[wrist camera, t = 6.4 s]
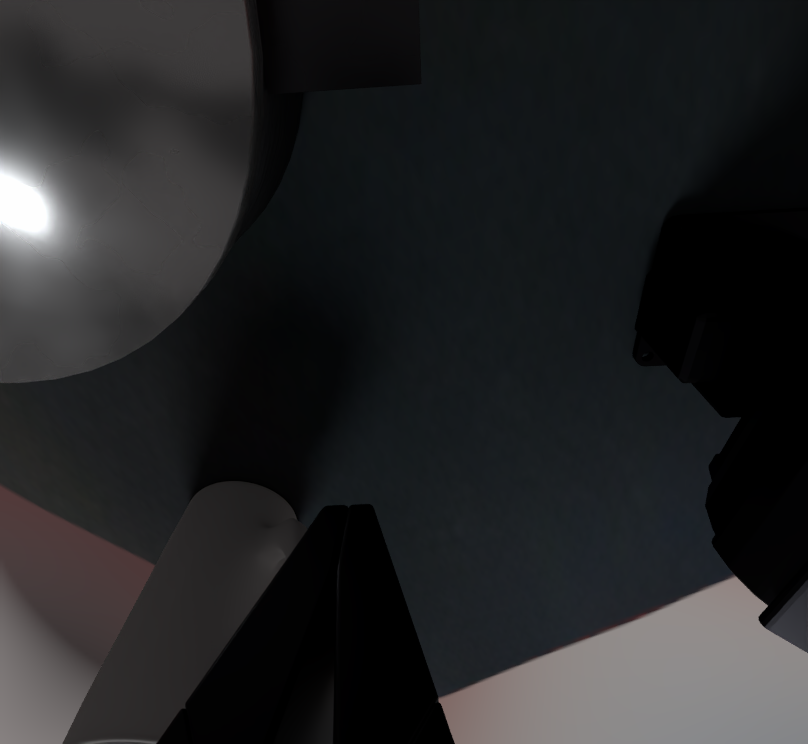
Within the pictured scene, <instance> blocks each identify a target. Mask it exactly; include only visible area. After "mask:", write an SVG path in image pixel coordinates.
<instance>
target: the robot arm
mask: <svg viewBox="0 0 808 744" xmlns="http://www.w3.org/2000/svg"><path fill="white" fill-rule="evenodd" d="M681 224H682V228H681V230H680V232H679V233H677V234H675V235H673V231H674V229H675V228H676V227H677V226H678V225H681ZM635 330H636V331H637V336H636V340H635V345H634V349H633V358H634V359H635V361H636V362H637V363H638V364H639V365H641V366H662V365H667V367H668V368H669V369H670V370H671V371H672V372H673V374H674V375H675V376H676V377H677V378H678V379H679V380H680V381H681V382H682V383H692V385H693V386H694V387H695V388H696V389H697V390H698V391H699V392H700V393H701V395H702V396H703V397H704V398H705V399H706V400H707V401H708V402H709V403H710V405H711V406H712V407H713V408H714V409H715V410H716V411H717V412H718V413H719V415H720V416H721V417H725V418H730V417H741V419H740V421H739V422H738V424H737V426H736V427H735V429H734V431H733V432H732V434H731V436H730V437H729V439H728V441H727V442H726V444H725V446H724V447H723V449H722V451H721V452H720V454H716V455H715V456H714V458H713V459H712V461H711V463H710V464H709V471H710V475H711V479H712V482H711V484H710V485H709V487H708V493H707V498H706V504H705V507H706V510H707V513H708V516H709V519H710V522H711V525H712V528H713V531H714V533H715V536H714V537H713V539H712V544H713V547H714V548H715V550H716V551H717V552H718V554H719V555H720V557H721V558H722V559H723V561H724V562H725V563H726V565H727V566H728V568H729V569H730V570H731V571H732V572H733V574H734V575H735V576H736V577H737V578H738V579H739V580H740V581H741V582H742V583H743V584H744V585H745V586H746V587H747V588H748V589H749V590H750V591H751V592H752V593H753V594H754V595H755V596H757V597H758V598H759V599H760V600H762V601H763V602H764V603H765V604H767V605H768V607H767V608H766V609H765V610H764V611H763V612H762V614H761V615H760V616H759V621H760V623H761V624H762V625H763V626H764V627H765V628H766V629H768V630H769V631H771V632H773V633H774V634H776V635H778V636H780V637H782V638H783V639H785V640H786V641H788V642H790V643H792V644H793V645H795V646H797V647H799V648H800V649H802V650H804V651H805V652H807V653H808V208H793V209H775V210H758V211H740V212H723V213H705V214H688V215H676V216H673V217H671V218H669V219H668V220H667V221H666V222H665V223H664V225H663V227H662V229H661V234H660V238H659V242H658V246H657V251H656V255H655V259H654V263H653V268H652V270H651V271H650V272H649V273H648V274H647V276H646V280H645V284H644V289H643V293H642V297H641V302H640V306H639V311H638V315H637V319H636V324H635ZM646 352H649V354H648V355H647V356H645V357H642V356H643V354H644V353H646ZM185 708H186V709H184V708H182V709H181V710H180V711H179V712H178V713H177V715H176V716H175V718H174V719H173V721H172V722H171V723H170V725H169V726H168V728H167V729H166V731H165V732H164V734H163V735H162V736H161V738H160V739H159V741H158V742H157V743H156V744H455V743H454V740H453V738H452V735H451V732H450V729H449V726H448V723H447V720H446V717H445V714H444V711H443V708H442V706H441V704H440V703H439V702H438V695H437V692H436V689H435V686H434V683H433V680H432V677H431V674H430V671H429V668H428V665H427V663H426V660H425V657H424V654H423V651H422V648H421V645H420V642H419V639H418V636H417V633H416V630H415V627H414V624H413V622H412V619H411V616H410V613H409V610H408V607H407V604H406V601H405V598H404V595H403V592H402V589H401V586H400V583H399V581H398V578H397V575H396V572H395V569H394V566H393V563H392V560H391V557H390V554H389V551H388V548H387V545H386V543H385V540H384V537H383V534H382V531H381V528H380V525H379V522H378V519H377V516H376V513H375V510H374V508H373V506H372V505H370V504H359V505H351V506H350V507H349V508H348V507H347V506H345V505H333V506H325V507H324V508H323V509H322V510H321V511H320V513H319V514H318V515H317V517H316V518H315V520H314V521H313V523H312V524H311V525H310V527H309V528H308V530H307V531H306V533H305V534H304V535H303V537H302V538H301V540H300V541H299V542H298V544H297V545H296V547H295V548H294V550H293V551H292V552H291V554H290V555H289V557H288V558H287V559H286V561H285V562H284V564H283V565H282V567H281V568H280V569H279V571H278V572H277V574H276V575H275V576H274V578H273V579H272V581H271V582H270V584H269V585H268V586H267V588H266V589H265V591H264V592H263V593H262V595H261V596H260V598H259V599H258V601H257V602H256V603H255V605H254V606H253V608H252V609H251V610H250V612H249V613H248V615H247V616H246V618H245V619H244V620H243V622H242V623H241V625H240V626H239V627H238V629H237V630H236V632H235V633H234V635H233V636H232V637H231V639H230V640H229V642H228V643H227V644H226V646H225V647H224V649H223V650H222V652H221V653H220V654H219V656H218V657H217V659H216V660H215V662H214V663H213V664H212V666H211V667H210V669H209V670H208V671H207V673H206V674H205V676H204V677H203V679H202V680H201V681H200V683H199V684H198V686H197V687H196V688H195V690H194V691H193V693H192V694H191V696H190V697H189V698H188V700H187V701H186V703H185Z"/></svg>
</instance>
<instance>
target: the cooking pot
mask: <svg viewBox="0 0 808 744" xmlns="http://www.w3.org/2000/svg"><path fill="white" fill-rule="evenodd" d="M256 4H257V12H258V20H259V28H260V36H261V44H262V52H263V89H264V117H263V127H262V136H261V146H260V155H259V164H258V168H257V172H256V177H255V181H254V185H253V189H252V193H251V197H250V202H249V206H248V209H247V211H246V214H245V216H244V219H243V221H242V224H241V226H240V229H239V231H238V234H237V236H236V239H235V241H234V243H235V242H236V241H237V240H238V239H239V238H240V237H241V236H242V235H243V234H244V233H245V232H246V231H247V230H248V228H249V227H250V226H251V225H252V224H253V223H254V221H255V220H256V219H257V218H258V217H259V215H260V214H261V213H262V212H263V211H264V209H265V208H266V206H267V205H268V203H269V201H270V200H271V198H272V197H273V195H274V193H275V192H276V190H277V188H278V187H279V185H280V182H281V180H282V177H283V175H284V173H285V170H286V168H287V166H288V163H289V161H290V158H291V154H292V151H293V147H294V143H295V140H296V136H297V132H298V128H299V120H300V113H301V106H302V99H303V92H311V91H326V90H341V89H355V88H370V87H384V86H399V85H414V84H421V59H420V28H419V0H256Z"/></svg>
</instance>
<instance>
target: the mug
mask: <svg viewBox="0 0 808 744" xmlns="http://www.w3.org/2000/svg"><path fill="white" fill-rule="evenodd" d="M306 531H307V528H306V527H305V526H304V525H303V524H301V523H300V522H299V521H298V520H297V518H296V515H295V512H294V510H293V509H292V507H291V506H290V505H289V503H288V502H287V501H286V500H285V499H284V498H282V497H281V496H280V495H278V494H277V493H275V492H274V491H272V490H270V489H268V488H266V487H263V486H260V485H257V484H254V483H249V482H243V481H225V482H219V483H215V484H212V485H209V486H207V487H205V488H203V489H201V490H200V491H199V492H198V493H197V494H196V495H195V496H194V497H193V498H192V500H191V501H190V503H189V505H188V507H187V508H186V510H185V512H184V514H183V516H182V518H181V519H180V521H179V523H178V525H177V527H176V528H175V530H174V532H173V534H172V535H171V537H170V539H169V541H168V543H167V545H166V546H165V548H164V550H163V552H162V554H161V556H160V558H159V560H158V562H157V564H156V565H155V567H154V569H153V571H152V573H151V575H150V577H149V579H148V581H147V582H146V584H145V586H144V588H143V590H142V592H141V594H140V596H139V598H138V600H137V601H136V603H135V605H134V607H133V609H132V611H131V612H130V614H129V616H128V618H127V620H126V622H125V624H124V626H123V628H122V629H121V631H120V633H119V635H118V637H117V639H116V641H115V643H114V644H113V646H112V648H111V650H110V652H109V654H108V656H107V657H106V659H105V661H104V663H103V665H102V667H101V669H100V670H99V672H98V674H97V676H96V678H95V680H94V682H93V684H92V686H91V688H90V689H89V691H88V693H87V695H86V697H85V699H84V701H83V703H82V705H81V707H80V709H79V711H78V713H77V715H76V717H75V719H74V722H73V723H72V725H71V727H70V729H69V732H68V734H67V736H66V738H65V740H64V742H63V744H156V743H157V742H158V741H159V739H160V738H161V736H162V735H163V734H164V732H165V731H166V729H167V728H168V726H169V725H170V723H171V722H172V721H173V719H174V718H175V716H176V715H177V713H178V712H179V711H180V710H181V709H182V708H184V709H186V708H185V703H186V701H187V700H188V698H189V697H190V696H191V694H192V693H193V691H194V690H195V688H196V687H197V686H198V684H199V683H200V681H201V680H202V679H203V677H204V676H205V674H206V673H207V671H208V670H209V669H210V667H211V666H212V664H213V663H214V662H215V660H216V659H217V657H218V656H219V654H220V653H221V652H222V650H223V649H224V647H225V646H226V644H227V643H228V642H229V640H230V639H231V637H232V636H233V635H234V633H235V632H236V630H237V629H238V627H239V626H240V625H241V623H242V622H243V620H244V619H245V618H246V616H247V615H248V613H249V612H250V610H251V609H252V608H253V606H254V605H255V603H256V602H257V601H258V599H259V598H260V596H261V595H262V593H263V592H264V591H265V589H266V588H267V586H268V585H269V584H270V582H271V581H272V579H273V578H274V576H275V575H276V574H277V572H278V571H279V569H280V568H281V567H282V565H283V564H284V562H285V561H286V559H287V558H288V557H289V555H290V554H291V552H292V551H293V550H294V548H295V547H296V545H297V544H298V542H299V541H300V540H301V538H302V537H303V535H304V534H305V533H306Z"/></svg>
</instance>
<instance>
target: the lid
mask: <svg viewBox="0 0 808 744" xmlns="http://www.w3.org/2000/svg"><path fill="white" fill-rule="evenodd" d="M263 117H264V89H263V52H262V44H261V36H260V28H259V20H258V12H257V4H256V0H0V383H24V382H33V381H42V380H52V379H58V378H63V377H67V376H71V375H75V374H79V373H83V372H87V371H91V370H93V369H96V368H98V367H101V366H103V365H106V364H108V363H111V362H113V361H116V360H118V359H121V358H123V357H125V356H126V355H128V354H130V353H131V352H133V351H135V350H136V349H138V348H140V347H141V346H143V345H145V344H146V343H148V342H150V341H151V340H152V339H154V338H155V337H156V336H157V335H158V334H160V333H161V332H162V331H163V330H164V329H165V328H167V327H168V326H169V325H170V324H171V323H172V322H174V321H175V320H176V319H177V318H178V317H179V316H180V315H181V314H182V313H183V312H184V311H185V310H186V309H187V308H188V307H189V306H190V305H191V304H192V303H193V301H194V300H195V299H196V298H197V297H198V295H199V294H200V293H201V292H202V291H203V289H204V288H205V287H206V286H207V285H208V283H209V282H210V281H211V280H212V279H213V278H214V276H215V275H216V273H217V271H218V270H219V268H220V266H221V264H222V263H223V261H224V259H225V258H226V256H227V254H228V253H229V251H230V249H231V248H232V246H233V244H234V241H235V239H236V236H237V234H238V231H239V229H240V226H241V224H242V221H243V219H244V216H245V214H246V211H247V209H248V206H249V202H250V197H251V193H252V189H253V185H254V181H255V177H256V172H257V168H258V164H259V155H260V146H261V136H262V127H263Z"/></svg>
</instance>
